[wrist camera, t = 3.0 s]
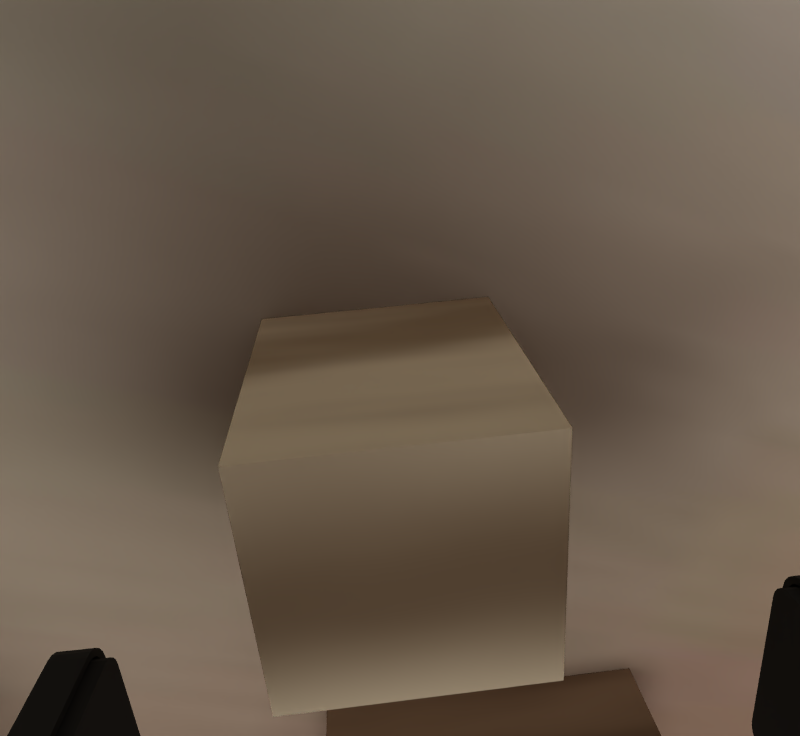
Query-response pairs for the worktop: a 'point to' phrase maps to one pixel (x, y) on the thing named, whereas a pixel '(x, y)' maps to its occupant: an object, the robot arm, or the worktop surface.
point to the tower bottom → (511, 711)
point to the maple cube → (398, 506)
